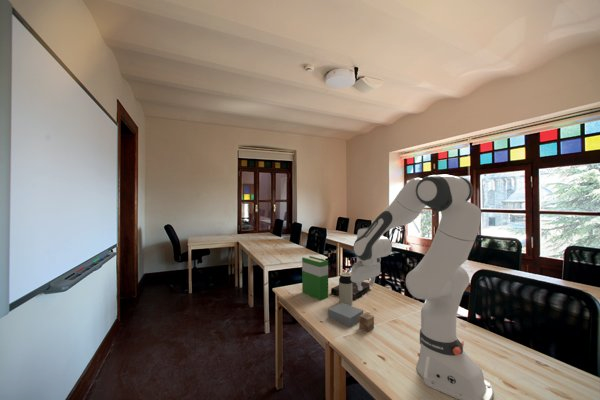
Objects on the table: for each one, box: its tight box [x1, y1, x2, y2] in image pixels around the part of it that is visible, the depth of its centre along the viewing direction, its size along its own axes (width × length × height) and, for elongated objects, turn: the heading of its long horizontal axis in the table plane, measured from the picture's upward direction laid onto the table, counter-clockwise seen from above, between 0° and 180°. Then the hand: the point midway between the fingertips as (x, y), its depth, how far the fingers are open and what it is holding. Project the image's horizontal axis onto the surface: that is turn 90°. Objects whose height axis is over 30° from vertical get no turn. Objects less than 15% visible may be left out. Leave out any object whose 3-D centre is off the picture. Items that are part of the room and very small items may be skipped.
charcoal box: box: [328, 303, 364, 328], centre depth 128 cm, size 14×12×5 cm
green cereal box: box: [301, 255, 329, 301], centre depth 160 cm, size 18×7×24 cm, turn 39°
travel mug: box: [338, 271, 353, 306], centre depth 147 cm, size 8×8×18 cm
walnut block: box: [358, 312, 375, 333], centre depth 118 cm, size 5×5×6 cm
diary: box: [330, 281, 372, 302], centre depth 165 cm, size 19×25×5 cm
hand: (365, 287), depth 119 cm, fingers open, 8 cm apart
